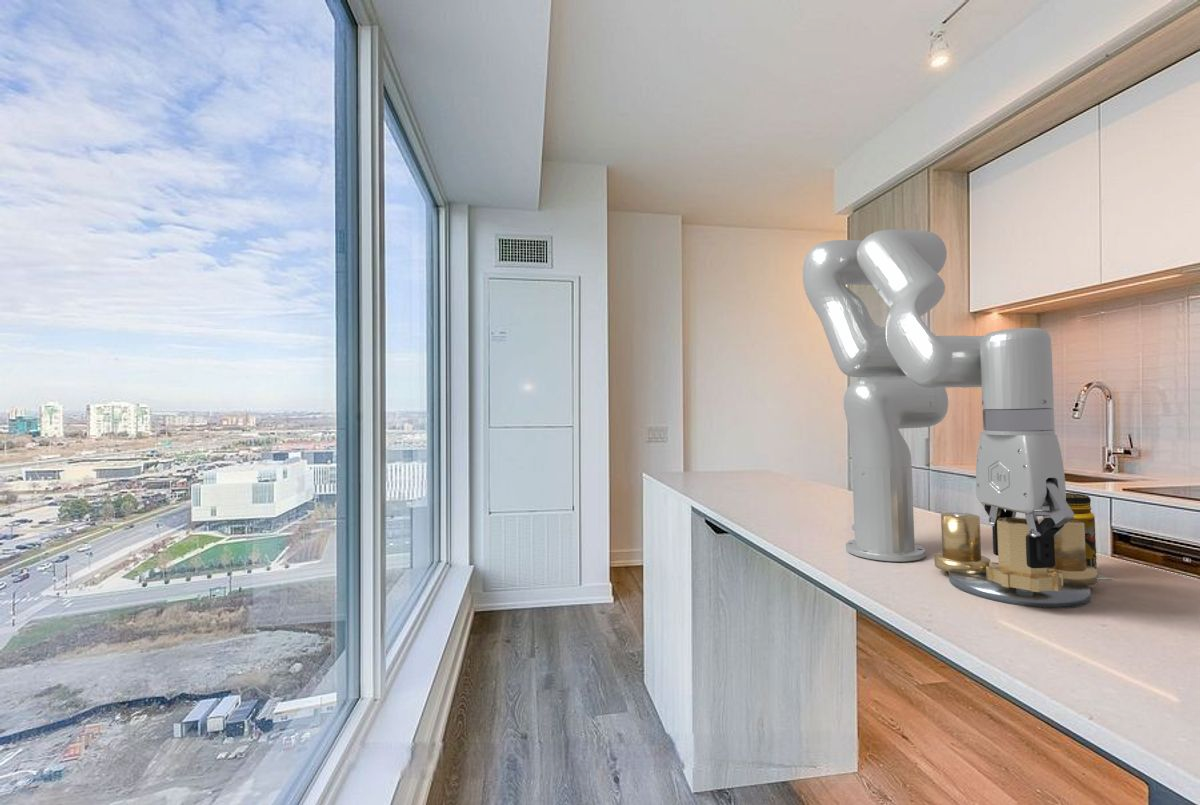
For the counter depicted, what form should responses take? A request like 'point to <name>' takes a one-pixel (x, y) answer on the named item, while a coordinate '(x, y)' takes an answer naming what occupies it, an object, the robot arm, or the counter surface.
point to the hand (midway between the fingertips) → (1022, 559)
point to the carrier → (970, 577)
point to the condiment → (1085, 526)
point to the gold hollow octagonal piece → (1019, 560)
